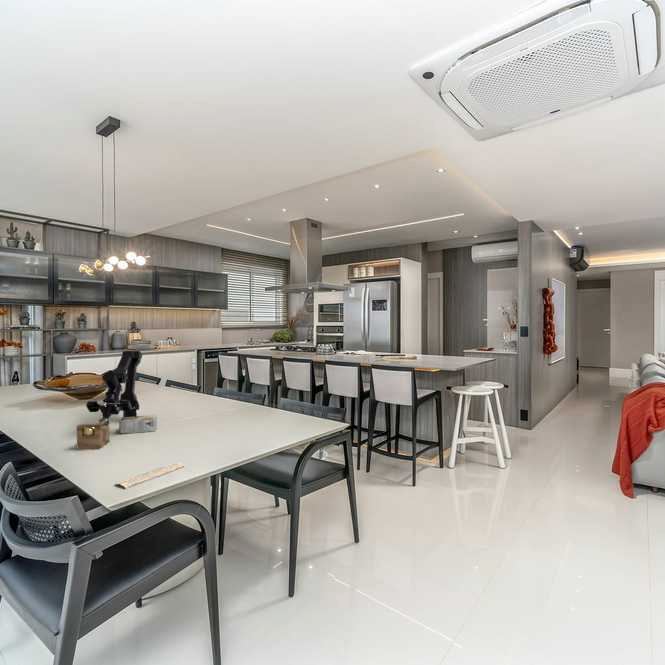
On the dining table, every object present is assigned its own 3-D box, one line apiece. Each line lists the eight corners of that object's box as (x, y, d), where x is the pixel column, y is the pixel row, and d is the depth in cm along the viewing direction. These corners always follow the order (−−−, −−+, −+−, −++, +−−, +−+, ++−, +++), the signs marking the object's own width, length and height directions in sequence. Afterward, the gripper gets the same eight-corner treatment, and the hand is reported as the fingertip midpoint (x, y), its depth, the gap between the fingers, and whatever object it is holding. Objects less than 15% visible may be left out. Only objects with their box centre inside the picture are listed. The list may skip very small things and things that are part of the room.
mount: (87, 443, 181) (87, 420, 181) (109, 442, 182) (109, 419, 182) (77, 450, 171) (76, 425, 171) (100, 449, 172) (99, 424, 172)
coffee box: (157, 427, 209) (122, 429, 204) (156, 414, 209) (122, 417, 204) (155, 431, 200) (119, 434, 195) (155, 418, 200) (118, 421, 195)
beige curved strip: (125, 491, 130) (125, 486, 130) (112, 487, 134) (112, 481, 134) (185, 468, 151) (185, 463, 151) (172, 465, 154) (172, 460, 154)
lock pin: (99, 427, 188) (99, 417, 188) (109, 427, 188) (109, 417, 188) (82, 437, 171) (82, 427, 171) (93, 437, 171) (93, 426, 171)
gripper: (137, 402, 206) (130, 429, 195) (97, 403, 203) (88, 431, 193) (131, 389, 198) (124, 417, 187) (90, 390, 195) (80, 418, 185)
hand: (104, 421), depth 188 cm, fingers closed
